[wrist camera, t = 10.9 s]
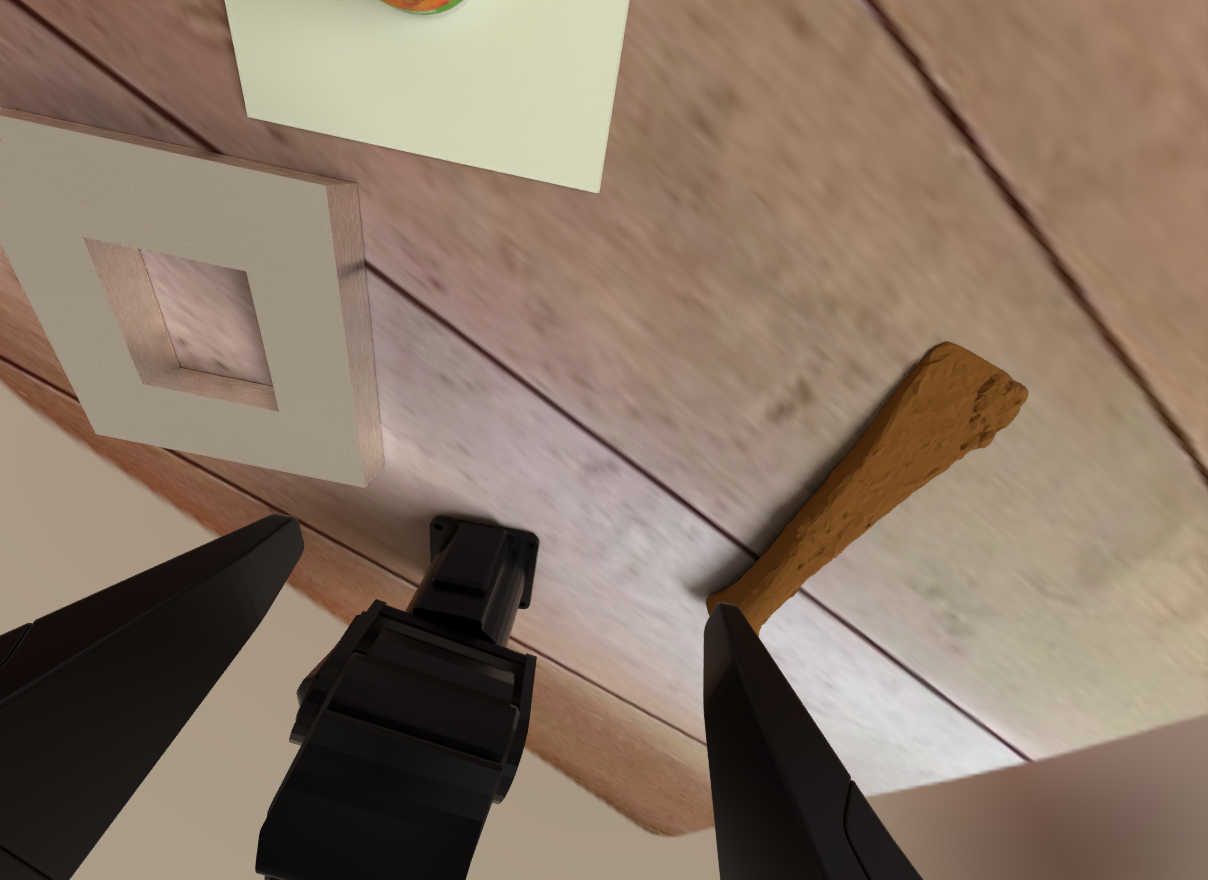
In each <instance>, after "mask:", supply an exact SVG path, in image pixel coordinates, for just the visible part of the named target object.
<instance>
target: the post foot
mask: <svg viewBox="0 0 1208 880" xmlns="http://www.w3.org/2000/svg"><path fill="white" fill-rule="evenodd" d="M0 244H1V246H2V248H3V250H4V252H5V254H6V256H7V258H8V260H9V262H10V264H11V266H12V268H13V270H14V272H15V274H16V276H17V278H18V280H19V282H20V284H21V286H22V288H23V290H24V292H25V294H26V296H27V298H28V300H29V302H30V304H31V306H32V308H33V310H34V312H35V313H36V315H37V317H38V319H39V321H40V323H41V325H42V327H43V329H44V331H45V333H46V335H47V337H48V339H49V341H50V343H51V345H52V347H53V349H54V351H55V353H56V355H57V357H58V359H59V361H60V363H61V365H62V367H63V369H64V371H65V373H66V375H67V377H68V379H69V381H70V383H71V385H72V387H73V389H74V391H75V393H76V395H77V397H78V399H79V401H80V403H81V405H82V407H83V409H84V411H85V413H86V415H87V417H88V419H89V421H90V423H91V425H92V427H93V429H94V431H95V433H96V434H98V435H103V436H108V437H113V438H118V439H123V440H128V441H133V442H138V443H143V444H148V445H153V446H158V447H163V448H168V449H173V450H178V451H183V452H188V453H193V454H198V455H203V456H208V457H213V458H218V459H223V460H228V461H233V462H238V463H243V464H248V465H253V466H258V467H263V468H268V469H273V470H278V471H283V472H288V473H293V474H298V475H302V476H307V477H312V478H317V479H322V480H327V481H332V482H337V483H342V484H347V485H352V486H357V487H362V488H366V486H367V485H368V484H369V483H370V482H371V481H372V480H373V478H374V477H375V476H376V475H377V474H378V473H379V472H380V471H381V469H382V468H383V467H384V457H383V447H382V437H381V427H380V416H379V406H378V396H377V386H376V375H375V365H374V355H373V345H372V334H371V324H370V314H369V304H368V293H367V283H366V273H365V263H364V252H363V242H362V232H361V222H360V211H359V201H358V191H357V183H352V182H347V181H343V180H338V179H334V178H329V177H324V176H320V175H315V174H310V173H306V172H301V171H297V170H292V169H287V168H283V167H278V166H273V165H269V164H264V163H260V162H255V161H250V160H246V159H241V158H236V157H232V156H227V155H223V154H218V153H213V152H209V151H204V150H199V149H195V148H190V147H185V146H181V145H176V144H172V143H167V142H162V141H158V140H153V139H148V138H144V137H139V136H135V135H130V134H125V133H121V132H116V131H111V130H107V129H102V128H98V127H93V126H88V125H84V124H79V123H74V122H70V121H65V120H61V119H56V118H51V117H47V116H42V115H37V114H33V113H28V112H24V111H19V110H14V109H10V108H5V107H0ZM139 249H141V250H146V251H151V252H156V253H160V254H165V255H170V256H175V257H179V258H184V259H189V260H194V261H198V262H203V263H208V264H213V265H217V266H222V267H227V268H232V269H236V270H241V271H246V273H247V277H248V281H249V286H250V290H251V294H252V298H253V303H254V307H255V311H256V315H257V320H258V324H259V328H260V332H261V337H262V341H263V345H264V349H265V354H266V358H267V362H268V366H269V371H270V375H271V379H272V383H273V386H268V385H263V384H258V383H253V382H248V381H243V380H239V379H234V378H229V377H224V376H219V375H214V374H209V373H204V372H199V371H195V370H190V369H185V368H180V366H179V363H178V360H177V357H176V355H175V352H174V349H173V346H172V343H171V340H170V337H169V335H168V332H167V329H166V326H165V323H164V320H163V317H162V315H161V312H160V309H159V306H158V303H157V300H156V297H155V295H154V292H153V289H152V286H151V283H150V280H149V277H148V275H147V272H146V269H145V266H144V263H143V260H142V257H141V255H140V252H139Z"/></svg>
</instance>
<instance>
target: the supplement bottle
mask: <svg viewBox="0 0 1208 880" xmlns="http://www.w3.org/2000/svg"><path fill="white" fill-rule="evenodd" d="M381 1H382V2H384V3H386V4H388V5H389V6H391V7H393V8H395V9H397V10H399V11H401V12H404V13H407V14H409V15H413V16H418V17H439V16H444V15H447V14H450V13H452V12H454V11H456V10H458V9H460V8H461V7H463V6H464V5H466V4H467V3H468V2H469V1H470V0H381Z"/></svg>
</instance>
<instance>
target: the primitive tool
mask: <svg viewBox="0 0 1208 880" xmlns="http://www.w3.org/2000/svg"><path fill="white" fill-rule="evenodd" d="M1027 397H1028V390H1027V388H1026V387H1025V386H1023V385H1022V384H1020V383H1018V382H1016V381H1014V380H1013V379H1012V378H1011V377H1010V376H1009V375H1008V374H1007V373H1006V372H1005V371H1003V370H1002V369H1000V368H998V367H996V366H994V365H992V364H991V363H989V362H987V361H986V360H984V359H983V358H981V357H979V356H978V355H976V354H974V353H972V352H971V351H969V350H967V349H965V348H963V347H960V346H958V345H954V344H952V343H950V342H944V343H942V344H939V345H937V346H935V347H934V348H933V350H932V351H931V352H930V353H929V354H928V355H927V356H926V357H924V359H923V360H922V361H921V362H920V364H919V365H918V366H917V367H916V368H915V369H914V371H913V372H912V373H911V374H910V375H909V376H908V377H907V379H906V380H905V381H904V382H903V383H902V384H901V386H900V387H899V388H898V389H897V391H896V392H895V393H894V395H893V396H892V397H891V399H890V400H889V401H888V402H887V404H886V405H885V406H884V408H883V409H882V410H881V411H880V413H879V414H878V416H877V417H876V419H875V420H874V421H873V423H872V424H871V425H870V426H869V428H868V429H867V430H866V432H865V433H864V434H863V436H862V437H861V439H860V440H859V441H858V442H857V443H856V445H855V446H854V447H853V448H852V450H851V451H850V452H849V453H848V454H847V455H846V456H845V457H844V459H843V460H842V461H841V462H840V464H839V465H838V466H837V467H836V468H835V469H834V470H833V471H832V472H831V475H830V476H829V478H828V479H827V481H826V482H825V483H824V484H823V485H822V486H821V487H820V488H819V489H818V490H817V491H816V492H815V493H814V495H813V496H812V497H811V499H810V500H809V501H808V502H807V503H806V504H805V505H804V507H803V508H802V509H801V510H800V511H799V513H798V514H797V515H796V516H795V518H794V519H793V520H792V521H791V522H789V523H788V524H787V526H786V527H785V529H784V530H783V531H782V533H781V534H780V536H779V537H778V538H777V539H776V541H775V542H774V543H773V544H772V546H771V547H770V548H769V549H768V551H767V552H766V553H765V554H763V555H762V556H761V557H760V558H759V559H758V561H757V562H756V563H755V564H754V565H753V566H752V567H751V568H750V569H749V570H748V571H747V572H746V573H745V574H744V575H743V576H742V577H741V579H739V580H738V581H737V582H736V583H735V584H732V586H730V587H728V588H727V589H726V590H725V591H719V592H717V593H714V594H711V595H710V596H709V597H708V598H707V600H706V605H707V610H708V613H709V616H710V615H711V613H712V611H713V609H714V607H715V605H716V603H718V602H725V603H730V604H734V605H736V606H738V607H739V608H740V610H741V611H742V613H743V614H744V616H745V617H746V619H747V620H748V622H749V623H750V625H751V626H752V628H753V629H754V631H755V633H756V634H757V636H759V631H760V629H761V626H762V625H763V624H765V622H766V621H767V620H768V619H769V617H770V616H771V615H772V614H773V613H774V612H775V611H776V610H777V609H778V608H780V607H781V606H782V605H783V604H784V603H785V602H786V601H787V600H788V599H789V598H790V597H793V596H794V595H795V594H796V593H797V591H798V590H799V588H800V586H801V585H802V584H803V583H804V582H805V581H806V580H807V579H808V578H809V577H811V576H812V575H814V574H815V573H816V572H817V571H819V570H820V569H821V568H822V567H823V566H824V565H826V564H827V563H829V562H830V561H831V560H832V559H833V558H836V557H837V555H839V554H840V553H841V552H842V551H843V550H844V549H845V548H846V547H847V546H848V545H849V544H850V543H852V542H853V541H854V540H856V539H857V538H858V537H860V536H861V535H862V534H863V533H865V532H866V531H867V530H868V529H869V528H871V527H872V526H873V525H874V524H875V522H876V521H878V520H879V519H880V518H882V517H883V516H885V515H886V514H888V513H889V512H890V511H891V510H892V509H893V508H895V507H896V506H897V505H898V504H900V503H901V502H903V501H904V500H905V499H907V498H908V497H909V496H910V495H911V494H912V493H913V492H915V491H916V490H918V489H919V488H921V487H922V486H924V485H925V484H926V483H928V482H929V481H930V480H931V479H933V478H934V477H936V476H937V475H939V474H941V473H943V472H944V471H946V470H947V469H948V468H949V467H950V466H951V465H952V464H953V463H954V462H955V461H957V460H959V459H962V458H963V457H964V455H965V454H967V453H968V452H969V451H971V450H974V449H978V448H985V447H987V446H988V445H989V444H990V443H991V442H992V440H993V438H994V437H995V435H996V433H997V432H998V431H999V430H1001V429H1003V428H1005V427H1007V426H1008V425H1009V424H1010V423H1011V421H1012V420H1013V419H1014V418H1015V417H1016V415H1017V414H1018V413H1019V411H1020V407H1021V406H1022V405H1023V404H1024V403H1025V401H1026V399H1027Z"/></svg>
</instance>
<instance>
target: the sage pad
mask: <svg viewBox="0 0 1208 880" xmlns="http://www.w3.org/2000/svg"><path fill="white" fill-rule="evenodd" d="M629 1H630V0H470V1H469V2H468V3H467V4H466V5H464V6H463V7H461V8H460V9H458V10H456V11H454V12H452V13H450V14H447V15H444V16H439V17H418V16H413V15H409V14H407V13H404V12H401V11H399V10H397V9H395V8H393V7H391V6H389V5H388V4H386V3H384V2H382V1H381V0H225V5H226V10H227V15H228V20H229V25H230V30H231V35H232V40H233V45H234V50H235V55H236V60H237V65H238V71H239V76H240V81H241V86H242V91H243V96H244V101H245V106H246V111H247V116H248V117H250V118H255V119H260V120H264V121H269V122H273V123H278V124H283V125H287V126H292V127H296V128H301V129H305V130H310V131H315V132H319V133H324V134H328V135H333V136H338V137H342V138H347V139H351V140H356V141H360V142H365V143H370V144H374V145H379V146H383V147H388V148H392V149H397V150H402V151H406V152H411V153H415V154H420V155H425V156H429V157H434V158H438V159H443V160H447V161H452V162H457V163H461V164H466V165H470V166H475V167H480V168H484V169H489V170H493V171H498V172H502V173H507V174H512V175H516V176H521V177H525V178H530V179H535V180H539V181H544V182H548V183H553V184H557V185H562V186H567V187H571V188H576V189H580V190H585V191H589V192H594V193H599V191H600V185H601V178H602V172H603V166H604V159H605V153H606V147H607V140H608V134H609V128H610V121H611V115H612V108H613V102H614V96H615V89H616V83H617V77H618V70H619V64H620V58H621V51H622V45H623V39H624V32H625V26H626V20H627V13H628V7H629Z"/></svg>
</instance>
